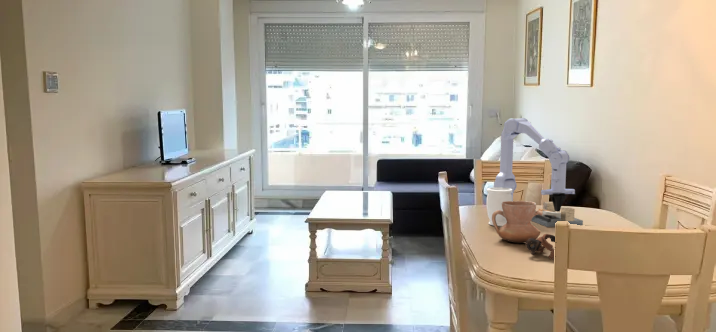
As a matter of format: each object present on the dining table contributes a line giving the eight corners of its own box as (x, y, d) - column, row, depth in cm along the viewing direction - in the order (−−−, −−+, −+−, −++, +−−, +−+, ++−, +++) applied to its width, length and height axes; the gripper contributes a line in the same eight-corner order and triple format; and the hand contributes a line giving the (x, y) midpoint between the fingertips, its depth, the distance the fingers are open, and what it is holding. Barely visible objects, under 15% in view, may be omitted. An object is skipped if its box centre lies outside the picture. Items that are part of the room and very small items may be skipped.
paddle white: (545, 216, 244) (546, 211, 243) (541, 215, 247) (542, 210, 246) (560, 218, 245) (561, 213, 245) (556, 217, 248) (557, 212, 248)
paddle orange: (541, 214, 247) (542, 209, 247) (537, 212, 250) (538, 208, 250) (555, 217, 248) (556, 213, 248) (551, 216, 252) (553, 211, 251)
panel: (547, 227, 236) (547, 210, 235) (526, 218, 254) (526, 202, 253) (582, 225, 239) (583, 208, 238) (559, 217, 257) (559, 201, 256)
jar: (490, 220, 249) (491, 186, 247) (514, 223, 243) (515, 188, 242) (482, 225, 240) (483, 189, 238) (507, 228, 234) (508, 191, 233)
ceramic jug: (541, 237, 218) (542, 200, 216) (543, 246, 204) (544, 206, 202) (492, 236, 222) (492, 199, 221) (491, 244, 208) (491, 205, 207)
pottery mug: (548, 252, 198) (560, 234, 194) (558, 271, 190) (570, 252, 186) (517, 245, 196) (528, 226, 192) (525, 264, 188) (537, 245, 184)
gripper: (547, 181, 239) (546, 213, 241) (579, 180, 242) (578, 212, 244) (539, 178, 246) (537, 210, 248) (570, 178, 249) (568, 209, 251)
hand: (557, 211), depth 246 cm, fingers closed
